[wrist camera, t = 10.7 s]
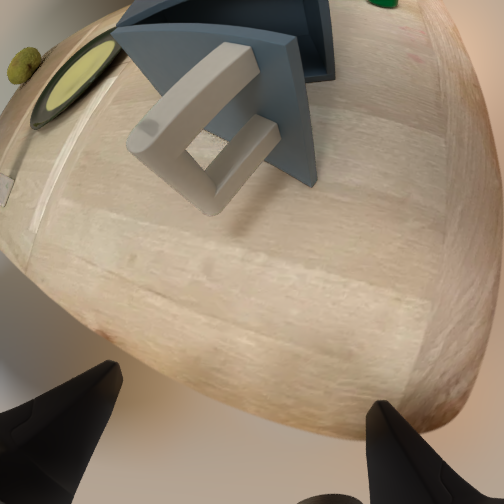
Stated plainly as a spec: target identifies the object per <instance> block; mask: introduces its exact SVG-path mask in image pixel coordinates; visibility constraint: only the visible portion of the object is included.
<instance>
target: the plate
mask: <svg viewBox="0 0 504 504" xmlns="http://www.w3.org/2000/svg"><path fill="white" fill-rule="evenodd" d="M116 28H117V27H114V28H111V29H109V30H107V31H106V32H104V33H102V34H100V35H99V36H97V37H96V38H94V39H93V40H91V41H90V42H89V43H87V44H86V45H85V46H83V47H82V48H81V49H80V50H79V51H77V52H76V53H75V54H74V55H73V56H72V57H71V58H70V59H69V60H68V61H67V62H66V63H65V64H64V65H63V66H62V67H61V68H60V69H59V70H58V72H57V73H56V74H55V75H54V76H53V78H52V79H51V80H50V82H49V83H48V84H47V86H46V87H45V89H44V90H43V92H42V94H41V95H40V97H39V99H38V100H37V102H36V104H35V107H34V109H33V111H32V115H31V119H30V126H31V128H32V129H34V130H37V129H39V128H41V127H42V126H44V125H45V124H47V123H48V122H49V121H51V120H52V119H54V118H55V117H56V116H58V115H59V114H60V113H61V112H62V111H64V110H65V109H66V108H67V107H68V106H69V105H70V104H72V103H73V102H74V101H75V100H76V99H77V98H78V97H79V96H80V95H81V94H82V93H83V92H84V91H85V90H86V89H87V88H88V87H89V86H90V85H91V84H92V83H93V82H94V81H95V80H96V79H97V78H98V77H99V76H100V75H101V73H102V72H103V71H104V70H105V69H106V68H107V67H108V66H109V65H110V63H111V62H112V61H113V60H114V59H115V57H116V56H117V55H118V54H119V52H120V51H121V50H122V47H121V46H120V45H119V44H118V42H117V41H116V40H115V39H114V38H113V37H112V35H111V34H110V33H112V32H113V31H114V30H115V29H116Z"/></svg>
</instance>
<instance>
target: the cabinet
mask: <svg viewBox="0 0 504 504" xmlns="http://www.w3.org/2000/svg"><path fill="white" fill-rule="evenodd" d="M161 23H202V24H219V25H230V26H240V27H247V28H255V29H261V30H267V31H272V32H278V33H283V34H287V35H292V36H296V37H297V42H298V47H299V52H300V57H301V62H302V68H303V73H304V79H305V83H308V82H317V81H326V80H335V62H334V48H333V36H332V26H331V17H330V9H329V1H328V0H135V1H134V2H133V3H132V5H131V6H130V7H129V8H128V10H127V11H126V12H125V14H124V15H123V16H122V18H121V19H120V20H119V22H118V23H117V24H116V27H117V28H118V27H125V26H133V25H145V24H161Z"/></svg>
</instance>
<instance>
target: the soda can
mask: <svg viewBox="0 0 504 504" xmlns="http://www.w3.org/2000/svg"><path fill="white" fill-rule="evenodd" d="M368 1H369V2H370V3H372V4H374V5H376V6H380V7H384V8H394V7H396V6H397V5H398V0H368Z"/></svg>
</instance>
